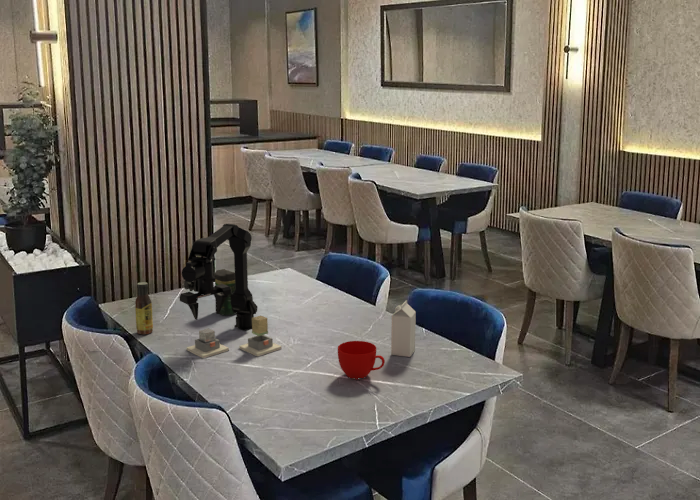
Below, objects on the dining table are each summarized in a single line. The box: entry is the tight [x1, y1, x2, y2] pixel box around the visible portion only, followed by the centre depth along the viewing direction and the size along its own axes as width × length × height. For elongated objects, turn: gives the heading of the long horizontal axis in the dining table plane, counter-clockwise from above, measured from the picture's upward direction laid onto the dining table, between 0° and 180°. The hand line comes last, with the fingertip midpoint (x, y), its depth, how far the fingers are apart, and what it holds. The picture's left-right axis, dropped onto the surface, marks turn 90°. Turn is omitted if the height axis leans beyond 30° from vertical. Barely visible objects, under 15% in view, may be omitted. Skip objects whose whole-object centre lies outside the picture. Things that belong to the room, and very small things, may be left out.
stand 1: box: [185, 337, 230, 359], centre depth 272 cm, size 11×11×4 cm
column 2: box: [251, 315, 269, 336], centre depth 273 cm, size 4×4×6 cm
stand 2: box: [238, 334, 282, 357], centre depth 274 cm, size 11×11×4 cm
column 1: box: [198, 328, 216, 343], centre depth 272 cm, size 4×4×6 cm
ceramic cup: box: [337, 340, 386, 380], centre depth 249 cm, size 13×17×10 cm
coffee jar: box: [213, 268, 236, 317], centre depth 313 cm, size 10×8×19 cm
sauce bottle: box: [134, 281, 154, 335], centre depth 289 cm, size 7×6×20 cm
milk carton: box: [390, 299, 417, 358], centre depth 269 cm, size 7×7×19 cm
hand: (206, 316), depth 270 cm, fingers open, 9 cm apart
